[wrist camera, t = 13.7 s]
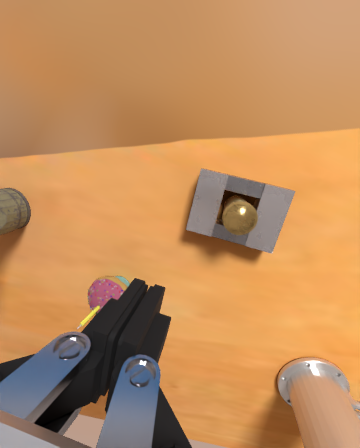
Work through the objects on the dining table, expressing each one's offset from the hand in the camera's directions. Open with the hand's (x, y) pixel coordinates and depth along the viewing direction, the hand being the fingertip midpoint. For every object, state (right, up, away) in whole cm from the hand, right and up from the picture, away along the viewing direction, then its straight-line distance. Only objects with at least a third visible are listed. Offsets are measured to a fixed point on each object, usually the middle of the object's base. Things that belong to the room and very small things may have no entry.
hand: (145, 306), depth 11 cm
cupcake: (-11, -9, +35) cm, 37 cm away
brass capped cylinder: (+11, +7, +27) cm, 30 cm away
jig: (+11, +7, +27) cm, 30 cm away
